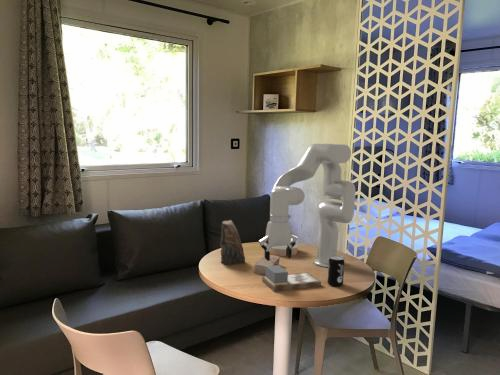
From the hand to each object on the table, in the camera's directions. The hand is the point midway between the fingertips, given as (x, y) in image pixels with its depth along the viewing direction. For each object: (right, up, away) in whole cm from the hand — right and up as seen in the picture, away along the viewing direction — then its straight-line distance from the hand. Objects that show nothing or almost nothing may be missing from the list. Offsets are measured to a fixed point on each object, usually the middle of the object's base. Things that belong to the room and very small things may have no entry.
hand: (278, 258), depth 164 cm
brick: (-4, -9, +22) cm, 24 cm away
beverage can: (+25, -12, +5) cm, 28 cm away
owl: (-21, -7, +31) cm, 38 cm away
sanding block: (-1, -9, +1) cm, 9 cm away
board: (+6, -11, +4) cm, 13 cm away
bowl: (+6, -6, +51) cm, 52 cm away
